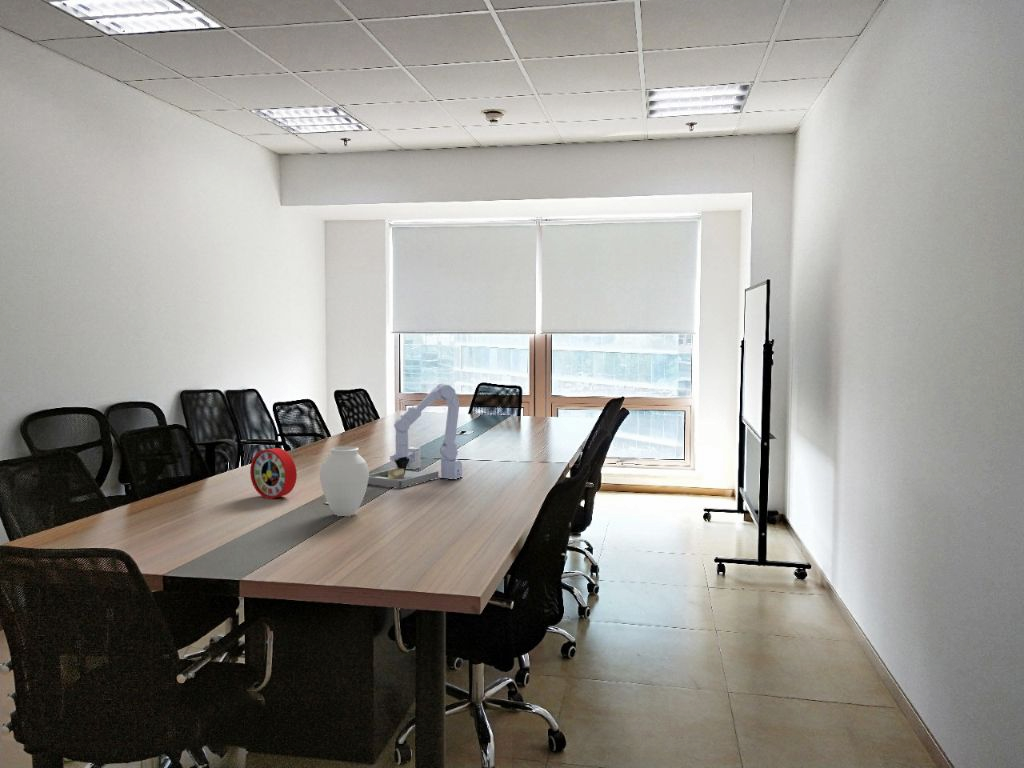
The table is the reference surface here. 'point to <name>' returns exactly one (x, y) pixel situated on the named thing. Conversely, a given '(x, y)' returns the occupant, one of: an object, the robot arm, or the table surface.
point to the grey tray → (408, 479)
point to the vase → (344, 480)
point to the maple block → (395, 473)
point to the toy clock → (273, 473)
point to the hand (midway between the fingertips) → (401, 474)
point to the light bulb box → (413, 458)
